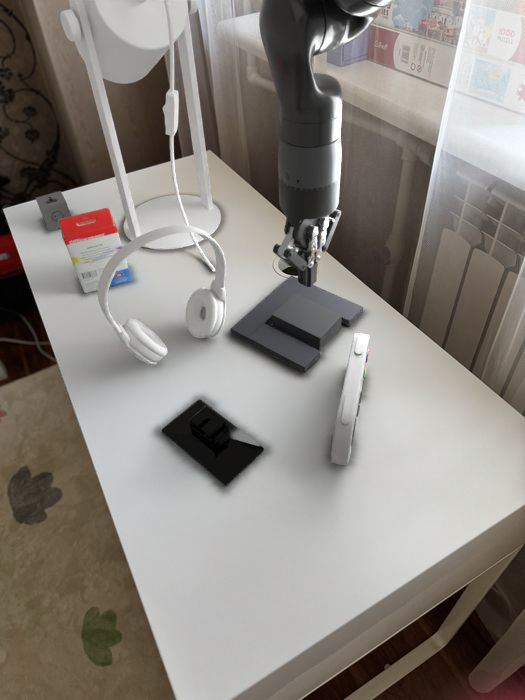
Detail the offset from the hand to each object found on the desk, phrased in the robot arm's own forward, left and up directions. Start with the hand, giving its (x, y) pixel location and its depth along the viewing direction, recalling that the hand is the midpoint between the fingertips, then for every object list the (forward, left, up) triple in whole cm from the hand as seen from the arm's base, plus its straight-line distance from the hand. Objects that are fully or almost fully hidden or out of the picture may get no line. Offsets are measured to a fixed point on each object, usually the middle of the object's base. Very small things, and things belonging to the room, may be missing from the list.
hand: (307, 282), depth 77 cm
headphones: (+14, +15, -9) cm, 22 cm away
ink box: (+36, +11, -9) cm, 38 cm away
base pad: (+2, 0, -9) cm, 9 cm away
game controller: (-14, +11, -9) cm, 20 cm away
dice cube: (+59, +4, -9) cm, 60 cm away
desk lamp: (+36, -9, -9) cm, 38 cm away
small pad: (0, 0, -9) cm, 9 cm away
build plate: (-2, +25, -9) cm, 26 cm away
